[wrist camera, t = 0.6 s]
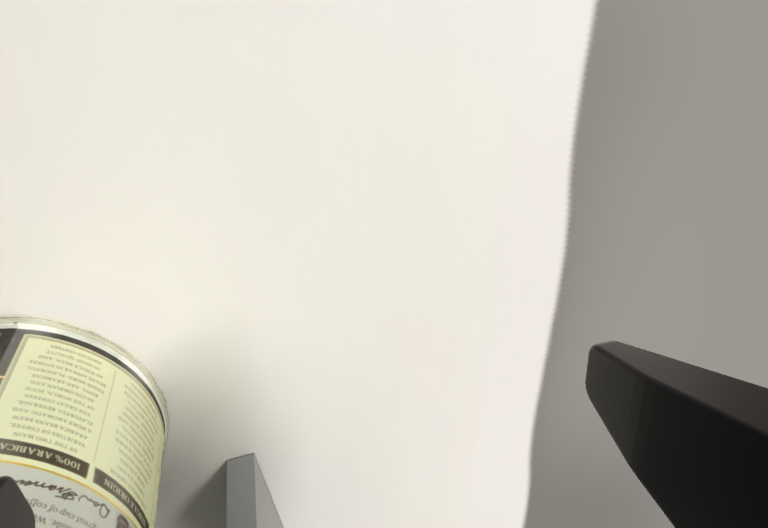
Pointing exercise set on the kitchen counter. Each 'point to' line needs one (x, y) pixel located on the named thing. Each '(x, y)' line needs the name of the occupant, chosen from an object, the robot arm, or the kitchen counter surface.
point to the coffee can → (79, 426)
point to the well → (248, 496)
